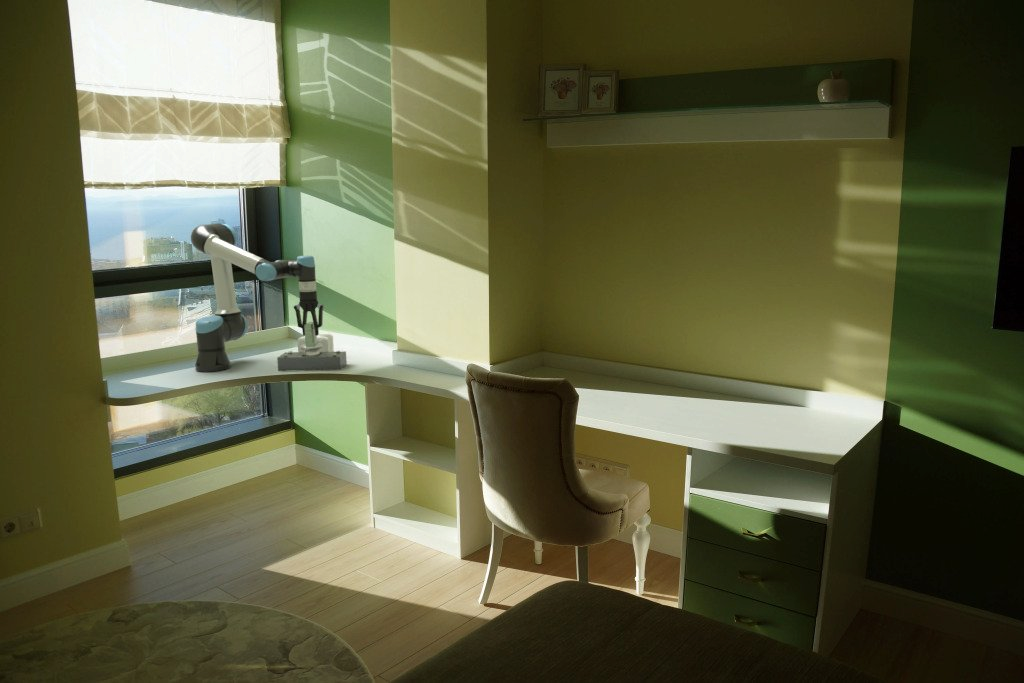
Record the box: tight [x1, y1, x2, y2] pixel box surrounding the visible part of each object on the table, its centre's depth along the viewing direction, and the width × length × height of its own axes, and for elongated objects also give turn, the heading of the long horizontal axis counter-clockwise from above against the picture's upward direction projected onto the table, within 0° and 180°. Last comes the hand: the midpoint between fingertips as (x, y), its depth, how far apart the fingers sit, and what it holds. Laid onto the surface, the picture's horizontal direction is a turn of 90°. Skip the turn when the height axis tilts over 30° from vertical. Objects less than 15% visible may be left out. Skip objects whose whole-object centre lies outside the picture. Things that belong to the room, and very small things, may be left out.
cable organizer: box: [297, 332, 335, 352], centre depth 393 cm, size 15×11×12 cm
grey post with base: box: [301, 321, 323, 356], centre depth 374 cm, size 10×10×16 cm
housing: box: [277, 350, 348, 372], centre depth 375 cm, size 28×12×7 cm, turn 88°
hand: (311, 342), depth 374 cm, fingers closed on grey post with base, 3 cm apart
